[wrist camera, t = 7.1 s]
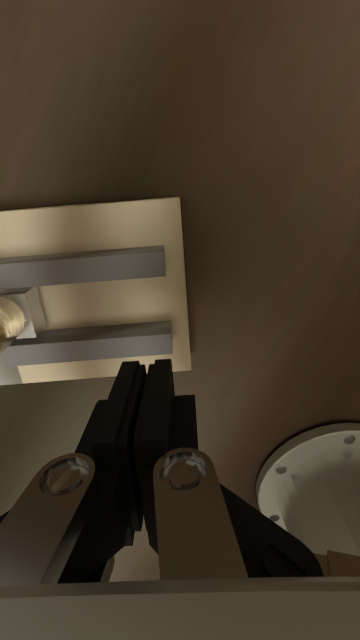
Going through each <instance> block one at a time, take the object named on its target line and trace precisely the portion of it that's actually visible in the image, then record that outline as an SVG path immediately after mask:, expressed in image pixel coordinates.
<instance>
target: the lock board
mask: <svg viewBox="0 0 360 640" xmlns="http://www.w3.org/2000/svg"><path fill="white" fill-rule="evenodd" d="M36 286H37V287H38V291H39V295H40V299H41V302H42V306H43V310H44V314H45V318H46V322H47V326H46V327H45V328H44V329H43V331H42V332H41V333H40V334H39V335H38V336H37V337H36V338H23V339H15V340H14V341H13V342H12V343H11V344H10V345H9V346H8V347H7V348H6V349H5V350H4V351H3V352H2V353H1V354H0V385H9V384H22V383H34V382H47V381H60V380H73V379H86V378H99V377H112V376H117V374H118V371H119V369H120V366H121V364H122V362H124V361H139V362H140V365H142V364H145V366H146V373H147V372H148V367H149V364H154V363H155V360H157V359H171V361H172V371H173V372H176V371H189V370H191V355H190V340H189V326H188V311H187V296H186V281H185V266H184V251H183V236H182V221H181V206H180V197H169V198H156V199H143V200H131V201H118V202H105V203H92V204H79V205H67V206H54V207H41V208H28V209H15V210H3V211H0V289H10V288H23V287H36Z"/></svg>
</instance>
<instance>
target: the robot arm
mask: <svg viewBox="0 0 360 640" xmlns="http://www.w3.org/2000/svg"><path fill="white" fill-rule="evenodd" d="M256 496H257V501H258V505H259V508H260V511H261V512H259V511H258V510H256V509H255V508H254V507H252V506H251V505H249V504H248V503H247V502H245V501H244V500H242V499H241V498H240V497H238V496H237V495H235V494H234V493H232V492H231V491H230V490H228V489H227V488H225V487H224V486H223V485H221V484H220V483H219V481H218V478H217V475H216V471H215V468H214V465H213V463H212V461H211V459H210V458H209V457H208V456H207V455H206V454H205V453H203V452H201V451H199V450H198V437H197V421H196V406H195V395H181V396H175V393H174V382H173V371H172V361H171V359H157V360H155V363H154V364H149V367H148V372H147V373H146V366H145V364H142V365H140V362H139V361H124V362H122V364H121V366H120V369H119V371H118V374H117V377H116V379H115V382H114V384H113V387H112V389H111V392H110V394H109V397H108V400H99V401H98V402H97V403H96V405H95V408H94V410H93V412H92V414H91V417H90V419H89V421H88V424H87V426H86V428H85V430H84V433H83V435H82V437H81V439H80V442H79V444H78V446H77V449H76V451H75V453H70V454H66V455H62V456H59V457H57V458H55V459H53V460H51V461H50V462H49V463H47V464H46V465H44V466H43V467H42V468H41V469H40V470H39V472H38V473H37V474H36V475H35V477H34V478H33V479H32V481H31V482H30V484H29V485H28V486H27V488H26V489H25V490H24V492H23V493H22V495H21V496H20V497H19V499H18V500H17V502H16V503H15V504H14V506H13V507H12V508H11V510H9V511H8V512H6V513H5V514H3V515H2V516H0V640H360V424H358V423H340V424H331V425H326V426H322V427H317V428H315V429H312V430H309V431H307V432H304V433H302V434H300V435H298V436H296V437H294V438H292V439H291V440H289V441H287V442H286V443H285V444H284V445H282V446H281V447H280V448H278V449H277V450H276V451H275V452H274V453H273V454H272V455H271V456H270V457H269V458H268V460H267V461H266V463H265V464H264V466H263V467H262V469H261V471H260V473H259V476H258V479H257V483H256ZM143 515H144V519H145V525H146V530H147V531H148V538H149V544H150V546H151V547H152V548H153V549H154V550H155V551H156V553H157V554H158V555H159V568H160V580H156V581H124V582H109V580H110V577H111V574H112V571H113V567H114V561H115V560H114V555H115V554H116V553H117V552H118V551H119V550H120V549H122V548H123V547H124V546H133V540H134V533H135V531H141V529H142V523H143Z"/></svg>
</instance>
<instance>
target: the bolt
mask: <svg viewBox="0 0 360 640" xmlns="http://www.w3.org/2000/svg"><path fill="white" fill-rule="evenodd" d="M46 326H47V322H46V318H45V314H44V310H43V306H42V302H41V299H40V295H39V291H38V287H37V286H36V287H23V288H10V289H0V354H1V353H2V352H3V351H4V350H5V349H6V348H7V347H8V346H9V345H10V344H11V343H12V342H13V341H14V340H15V339H23V338H36V337H37V336H38V335H39V334H40V333H41V332H42V331H43V329H44V328H45V327H46Z"/></svg>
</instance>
